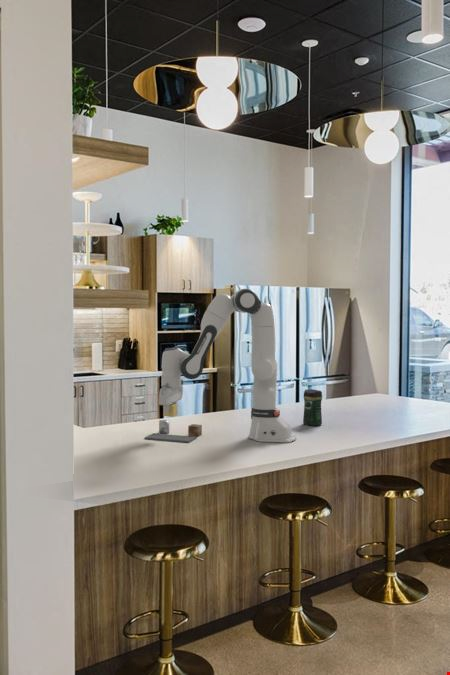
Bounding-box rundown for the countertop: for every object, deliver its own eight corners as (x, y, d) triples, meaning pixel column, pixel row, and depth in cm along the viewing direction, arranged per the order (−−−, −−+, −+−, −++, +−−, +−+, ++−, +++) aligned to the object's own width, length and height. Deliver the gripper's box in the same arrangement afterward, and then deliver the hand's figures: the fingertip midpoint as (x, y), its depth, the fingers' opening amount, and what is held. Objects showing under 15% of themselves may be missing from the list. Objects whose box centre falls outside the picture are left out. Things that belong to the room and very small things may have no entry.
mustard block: (177, 415, 303) (177, 404, 302) (173, 416, 298) (173, 406, 298) (167, 414, 304) (167, 403, 304) (163, 416, 300) (163, 405, 299)
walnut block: (201, 435, 311) (201, 424, 311) (198, 437, 307) (198, 426, 306) (191, 434, 313) (192, 424, 313) (188, 436, 308) (188, 426, 308)
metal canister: (170, 432, 316) (171, 420, 316) (166, 434, 312) (167, 422, 311) (161, 431, 318) (161, 419, 317) (157, 433, 313) (157, 421, 313)
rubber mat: (196, 438, 303) (196, 436, 303) (188, 442, 294) (188, 441, 294) (153, 434, 310) (153, 433, 310) (144, 439, 300) (144, 437, 300)
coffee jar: (324, 425, 340) (325, 390, 338) (314, 426, 334) (314, 391, 333) (310, 422, 347) (311, 387, 346) (300, 424, 342) (301, 389, 341)
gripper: (168, 385, 289) (168, 416, 290) (185, 380, 309) (184, 409, 310) (155, 384, 291) (155, 415, 292) (172, 379, 311) (172, 408, 312)
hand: (170, 412), depth 301 cm, fingers closed on mustard block, 5 cm apart
